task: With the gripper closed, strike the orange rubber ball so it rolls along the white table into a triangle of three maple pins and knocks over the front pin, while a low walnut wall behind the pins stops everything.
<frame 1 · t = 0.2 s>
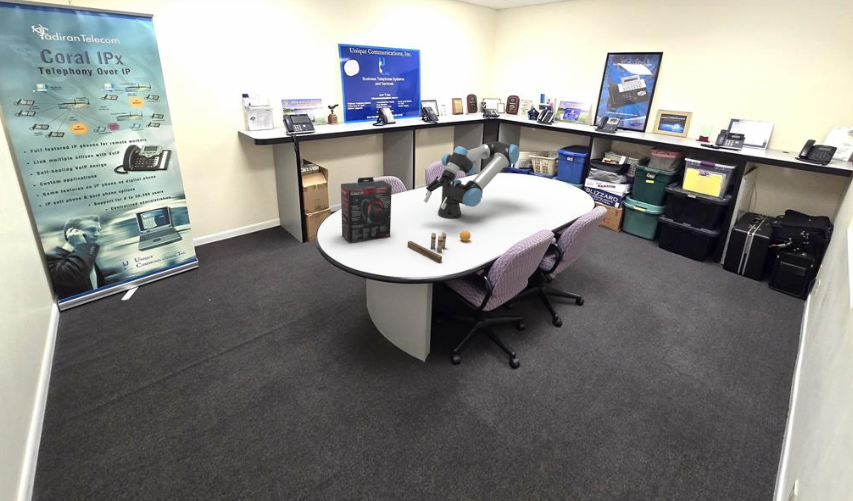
hand: (433, 205, 236), 16 cm above the table, tool tilted 35°, fingers open, 13 cm apart
pin right: (432, 248, 218), on the table
back wall: (423, 254, 211), on the table
front pin: (442, 247, 220), on the table
headset box: (366, 236, 229), on the table
pin left: (439, 251, 215), on the table
ball: (465, 235, 229), on the table
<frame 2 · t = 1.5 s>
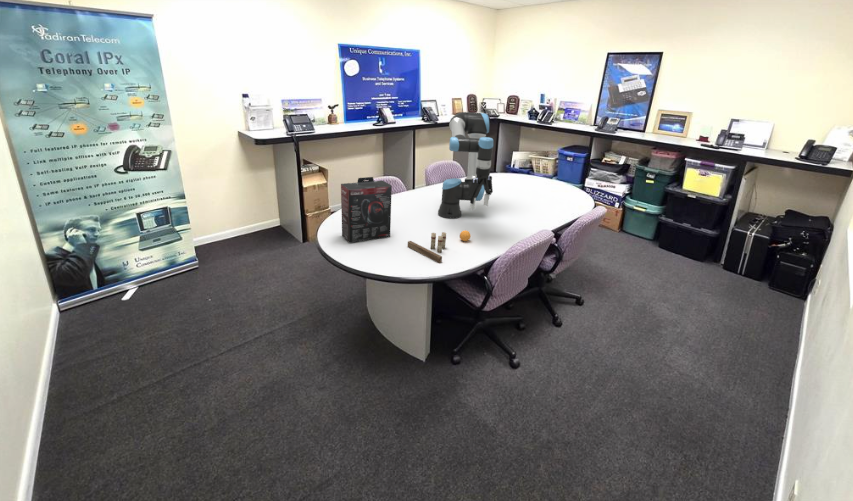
hand: (479, 207, 229), 18 cm above the table, tool pointing down, fingers open, 10 cm apart
nothing on the table moved.
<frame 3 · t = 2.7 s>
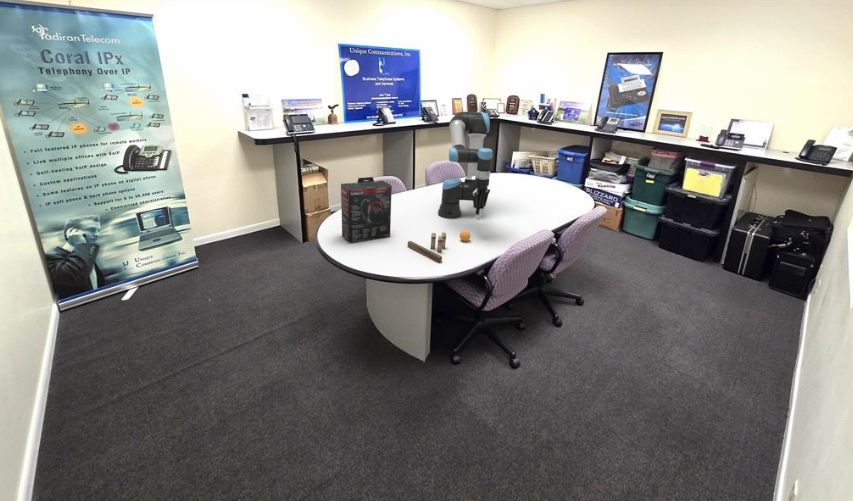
hand: (478, 219, 232), 11 cm above the table, tool pointing down, fingers closed
nothing on the table moved.
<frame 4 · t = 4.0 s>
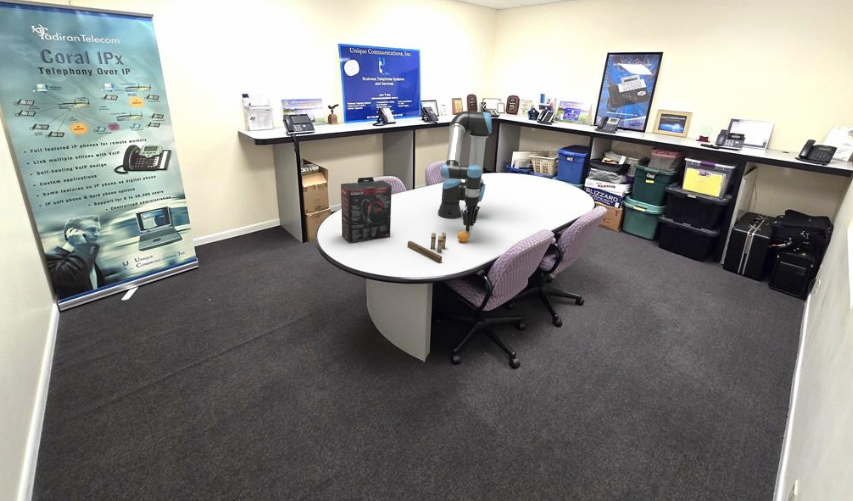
hand: (468, 236, 230), 2 cm above the table, tool pointing down, fingers closed
ball: (463, 236, 228), on the table, touching gripper
everything else where it was.
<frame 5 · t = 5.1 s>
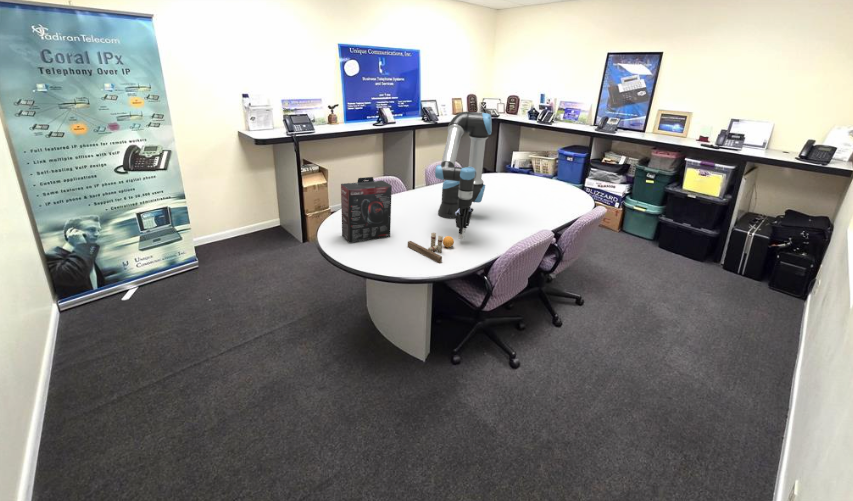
hand: (461, 238, 228), 2 cm above the table, tool pointing down, fingers closed
front pin: (440, 246, 219), point 1 cm above the table, tilted 90°
ball: (448, 241, 220), on the table
everything else where it was.
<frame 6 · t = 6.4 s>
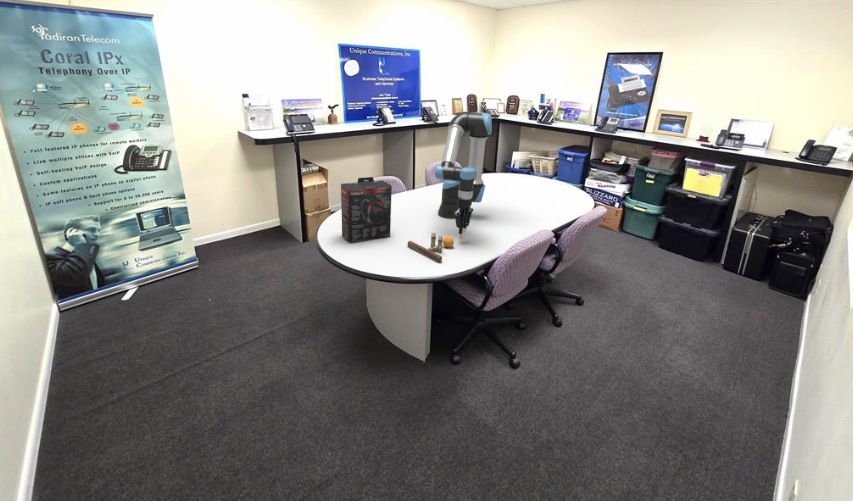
hand: (461, 238, 228), 2 cm above the table, tool pointing down, fingers closed
nothing on the table moved.
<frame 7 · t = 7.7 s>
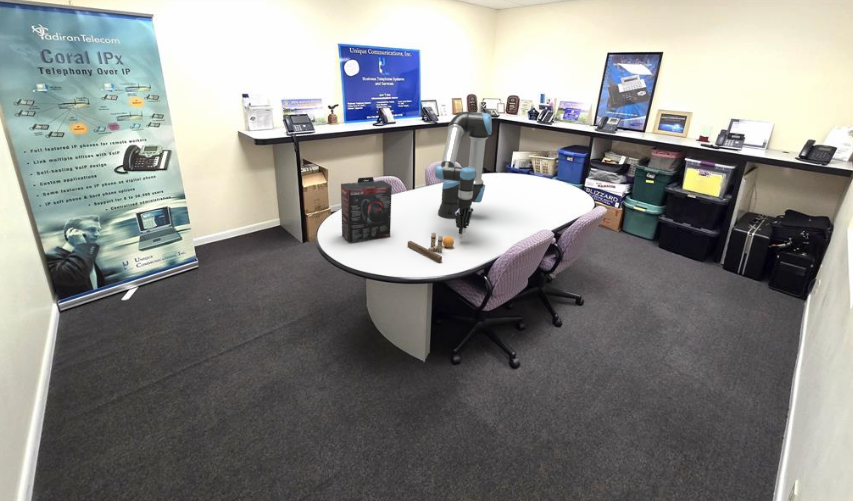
hand: (461, 238, 228), 2 cm above the table, tool pointing down, fingers closed
nothing on the table moved.
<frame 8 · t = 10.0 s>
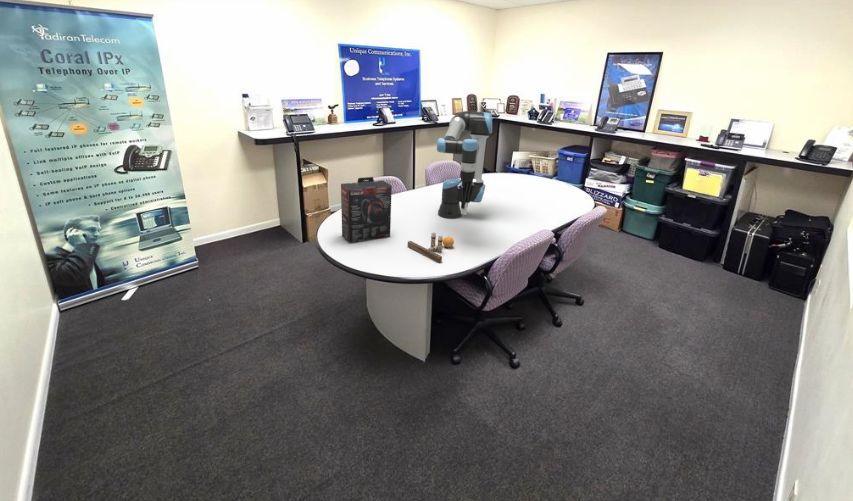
hand: (463, 213, 222), 16 cm above the table, tool pointing down, fingers closed
nothing on the table moved.
at the end: front pin tilted 90°; front pin never touched the robot; ball moved 13.8 cm from its start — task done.
